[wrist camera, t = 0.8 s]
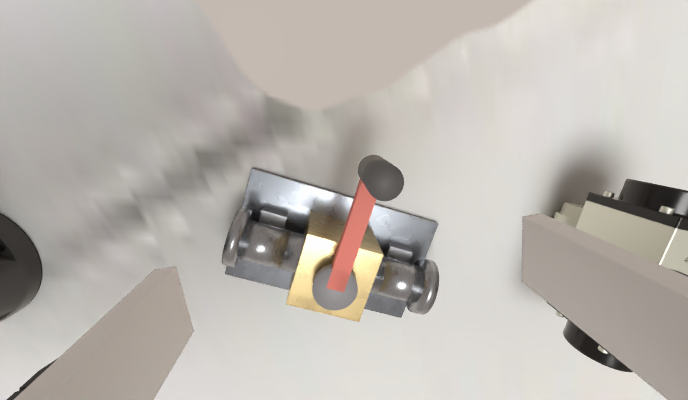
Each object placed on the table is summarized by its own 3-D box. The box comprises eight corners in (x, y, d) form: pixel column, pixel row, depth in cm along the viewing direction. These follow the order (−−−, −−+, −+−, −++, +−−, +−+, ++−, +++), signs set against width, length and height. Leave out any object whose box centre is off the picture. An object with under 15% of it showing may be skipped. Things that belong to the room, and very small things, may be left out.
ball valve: (564, 299, 47) (705, 405, 29) (509, 290, 46) (622, 394, 28) (614, 176, 43) (811, 217, 25) (554, 163, 42) (718, 196, 24)
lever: (348, 308, 34) (354, 348, 28) (307, 298, 33) (304, 336, 27) (400, 162, 30) (419, 173, 24) (355, 148, 30) (363, 156, 24)
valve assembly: (226, 271, 42) (200, 314, 33) (253, 167, 39) (231, 183, 30) (399, 314, 45) (419, 364, 36) (436, 221, 42) (468, 251, 33)
